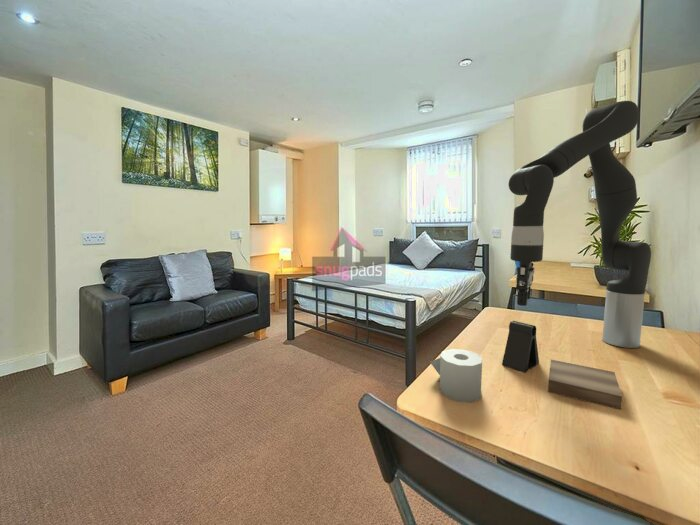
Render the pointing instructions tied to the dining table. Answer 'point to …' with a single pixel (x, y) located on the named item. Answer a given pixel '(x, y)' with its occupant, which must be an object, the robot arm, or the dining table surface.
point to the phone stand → (521, 347)
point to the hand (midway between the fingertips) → (523, 301)
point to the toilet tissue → (459, 374)
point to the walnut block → (585, 384)
